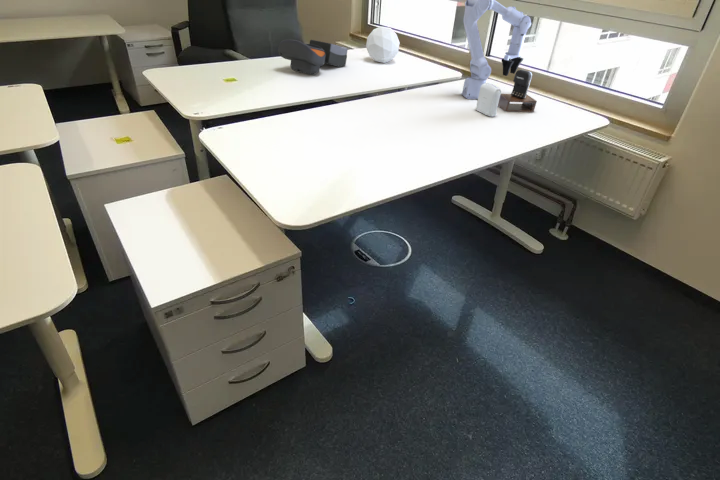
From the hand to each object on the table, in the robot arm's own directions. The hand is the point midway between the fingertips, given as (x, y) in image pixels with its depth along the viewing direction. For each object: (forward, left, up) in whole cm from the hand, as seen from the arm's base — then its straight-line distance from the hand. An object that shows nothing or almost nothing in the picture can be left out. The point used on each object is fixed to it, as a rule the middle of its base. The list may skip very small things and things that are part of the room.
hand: (508, 74), depth 206 cm
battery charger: (-3, -18, -6) cm, 19 cm away
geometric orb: (-50, +64, -11) cm, 82 cm away
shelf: (-2, -19, -10) cm, 21 cm away
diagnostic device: (-90, +42, -11) cm, 100 cm away
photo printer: (-20, -27, -11) cm, 35 cm away
